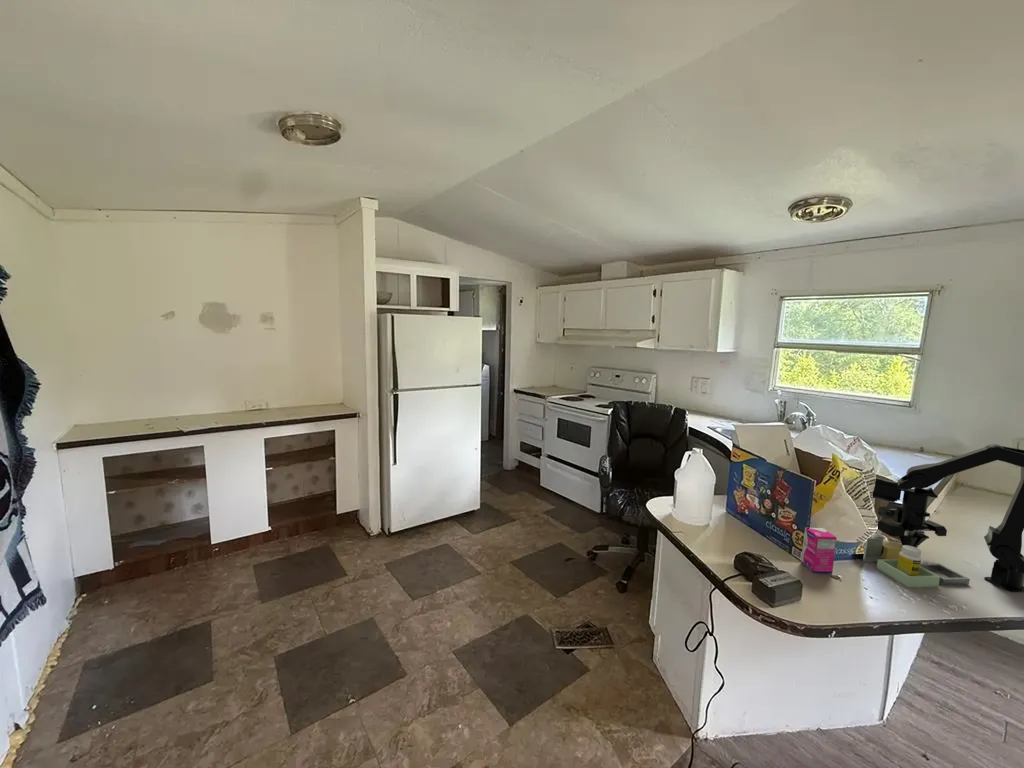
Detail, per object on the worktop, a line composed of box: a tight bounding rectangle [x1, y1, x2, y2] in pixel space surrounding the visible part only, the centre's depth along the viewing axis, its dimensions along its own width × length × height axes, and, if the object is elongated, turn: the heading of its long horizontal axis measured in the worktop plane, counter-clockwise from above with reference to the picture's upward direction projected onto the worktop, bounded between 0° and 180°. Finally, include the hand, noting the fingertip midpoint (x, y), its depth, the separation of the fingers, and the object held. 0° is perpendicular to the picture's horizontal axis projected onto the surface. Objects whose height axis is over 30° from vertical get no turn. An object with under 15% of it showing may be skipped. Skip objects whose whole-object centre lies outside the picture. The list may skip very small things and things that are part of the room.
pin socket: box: [920, 563, 971, 586], centre depth 125 cm, size 8×8×2 cm
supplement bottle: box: [897, 545, 922, 576], centre depth 124 cm, size 5×5×8 cm
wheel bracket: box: [862, 534, 884, 563], centre depth 134 cm, size 7×5×9 cm, turn 95°
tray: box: [876, 558, 940, 588], centre depth 124 cm, size 9×9×3 cm
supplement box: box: [800, 527, 837, 574], centre depth 127 cm, size 6×6×12 cm
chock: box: [880, 541, 903, 559], centre depth 136 cm, size 7×4×4 cm, turn 93°
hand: (906, 553), depth 136 cm, fingers closed
